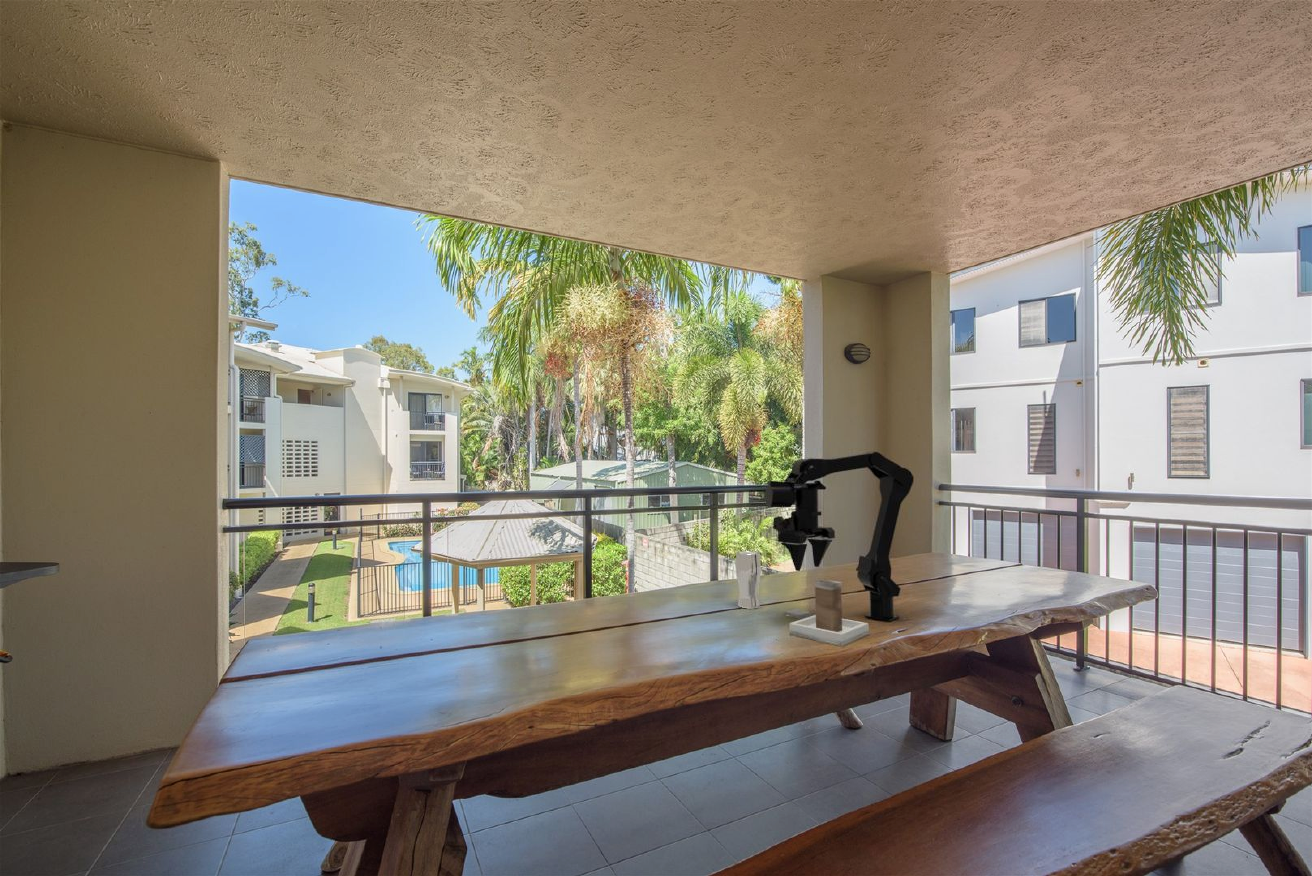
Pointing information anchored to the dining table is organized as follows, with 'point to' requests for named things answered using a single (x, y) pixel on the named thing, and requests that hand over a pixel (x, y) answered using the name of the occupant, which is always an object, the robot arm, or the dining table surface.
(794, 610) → the slate tile
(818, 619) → the brown rectangular block
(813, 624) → the tray
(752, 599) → the beer glass
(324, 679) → the dining table surface
